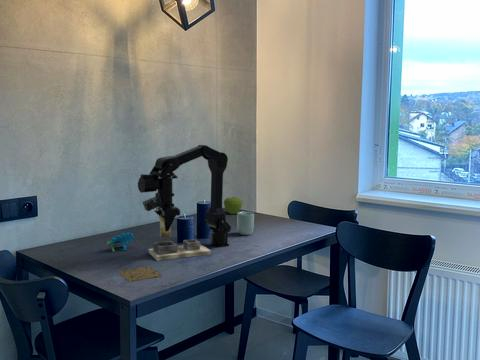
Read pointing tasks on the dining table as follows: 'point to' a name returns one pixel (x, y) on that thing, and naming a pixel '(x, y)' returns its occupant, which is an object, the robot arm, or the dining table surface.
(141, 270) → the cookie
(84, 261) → the dining table surface
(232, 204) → the apple
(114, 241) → the blue green toy animal
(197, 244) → the board
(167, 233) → the cylinder
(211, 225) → the robot arm
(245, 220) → the cup
